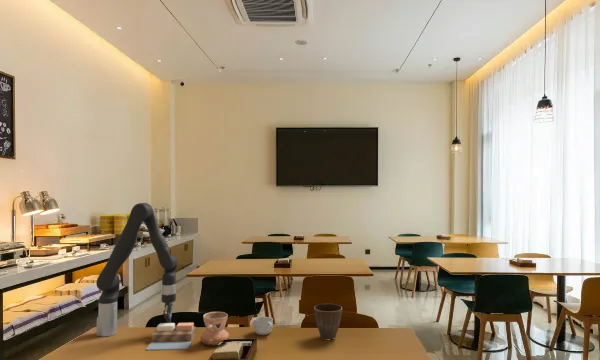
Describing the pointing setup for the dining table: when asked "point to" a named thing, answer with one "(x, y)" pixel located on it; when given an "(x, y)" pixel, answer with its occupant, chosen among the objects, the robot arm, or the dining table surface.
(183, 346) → the rubber mat
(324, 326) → the plant pot
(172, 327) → the cream block
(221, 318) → the ceramic jug
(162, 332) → the walnut stand
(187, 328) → the terracotta block
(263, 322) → the teacup
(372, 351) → the dining table surface
